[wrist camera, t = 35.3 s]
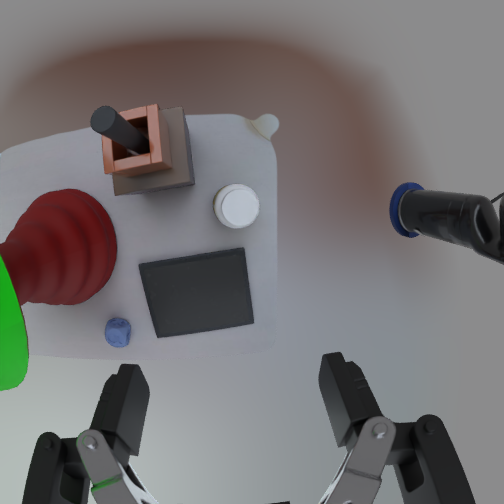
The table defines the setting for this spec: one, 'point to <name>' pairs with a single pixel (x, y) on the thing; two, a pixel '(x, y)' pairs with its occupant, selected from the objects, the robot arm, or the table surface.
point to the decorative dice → (117, 332)
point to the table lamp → (50, 267)
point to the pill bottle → (236, 206)
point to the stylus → (119, 130)
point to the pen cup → (130, 162)
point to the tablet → (198, 292)
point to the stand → (179, 155)
